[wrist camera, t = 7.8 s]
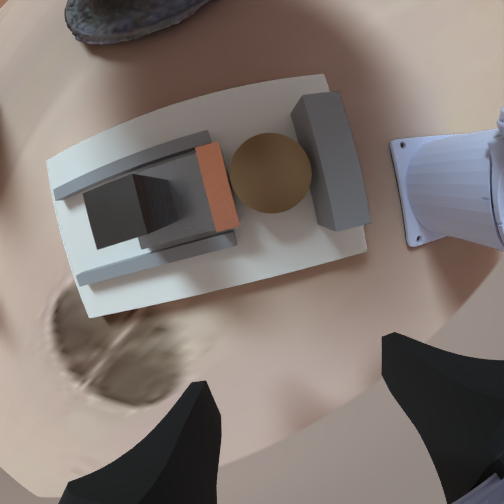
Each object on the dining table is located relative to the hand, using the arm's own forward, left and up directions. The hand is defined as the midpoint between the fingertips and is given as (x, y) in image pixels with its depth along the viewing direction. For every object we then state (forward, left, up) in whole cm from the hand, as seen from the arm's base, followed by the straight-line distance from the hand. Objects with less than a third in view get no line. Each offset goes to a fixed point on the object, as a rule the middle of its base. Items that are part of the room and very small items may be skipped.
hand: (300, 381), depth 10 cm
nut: (-1, -8, -8) cm, 11 cm away
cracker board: (+3, -8, -9) cm, 13 cm away
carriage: (+4, -8, -8) cm, 12 cm away
